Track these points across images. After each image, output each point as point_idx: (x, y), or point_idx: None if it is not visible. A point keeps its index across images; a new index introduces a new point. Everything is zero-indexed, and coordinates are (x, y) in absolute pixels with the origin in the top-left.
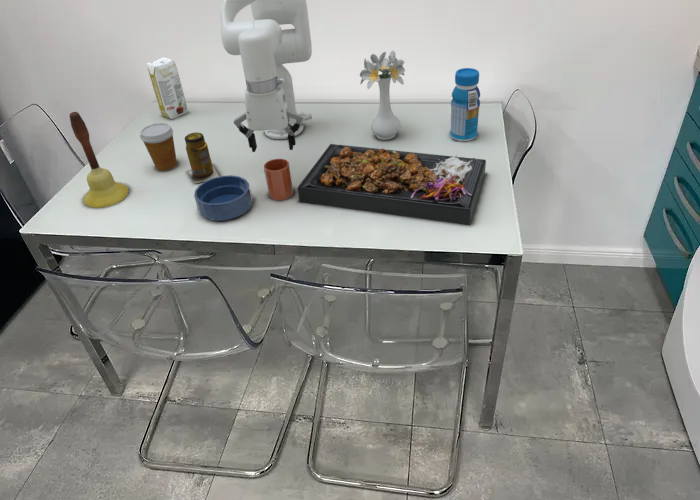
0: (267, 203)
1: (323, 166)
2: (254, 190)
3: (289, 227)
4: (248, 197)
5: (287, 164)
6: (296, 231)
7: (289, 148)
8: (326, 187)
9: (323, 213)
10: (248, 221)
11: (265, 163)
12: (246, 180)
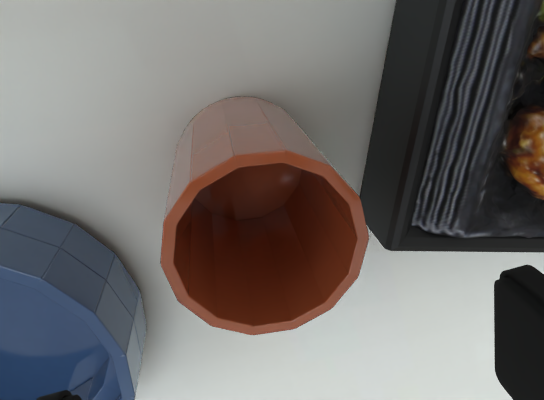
0: None
1: (535, 7)
2: (71, 155)
3: (357, 367)
4: (137, 350)
5: (356, 230)
6: (388, 379)
7: (507, 391)
8: (541, 217)
9: (473, 267)
10: (180, 375)
11: (165, 250)
12: (57, 289)
